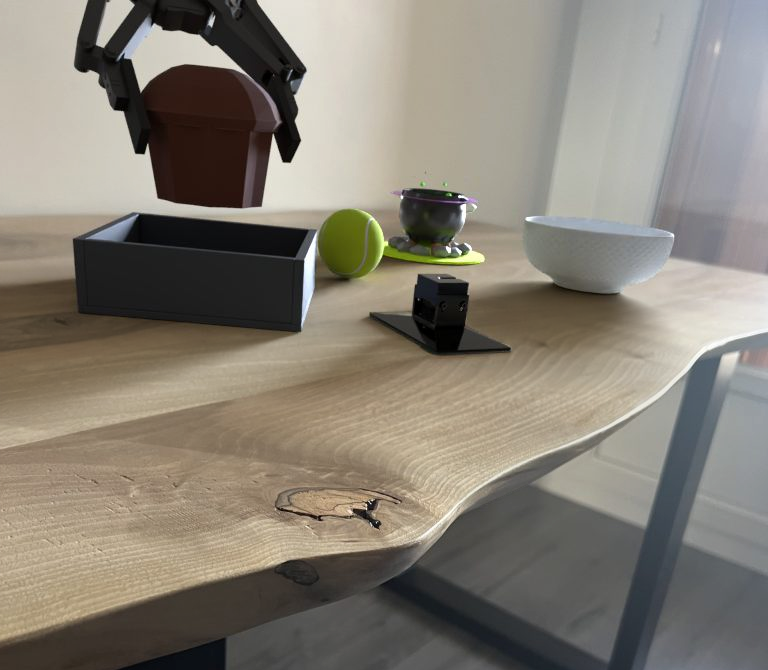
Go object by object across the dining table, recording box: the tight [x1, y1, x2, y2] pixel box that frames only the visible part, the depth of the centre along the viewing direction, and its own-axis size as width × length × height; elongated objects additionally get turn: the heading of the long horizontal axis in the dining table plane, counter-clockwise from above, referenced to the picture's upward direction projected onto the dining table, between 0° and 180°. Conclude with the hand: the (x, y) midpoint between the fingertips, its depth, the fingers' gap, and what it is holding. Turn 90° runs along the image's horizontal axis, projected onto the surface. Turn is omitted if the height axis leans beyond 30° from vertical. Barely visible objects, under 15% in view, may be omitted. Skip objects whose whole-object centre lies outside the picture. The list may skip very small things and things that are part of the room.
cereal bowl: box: [521, 215, 675, 294], centre depth 95 cm, size 17×17×7 cm
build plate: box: [368, 273, 512, 356], centre depth 68 cm, size 12×7×5 cm, turn 27°
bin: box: [72, 211, 319, 333], centre depth 71 cm, size 18×18×6 cm
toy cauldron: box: [382, 163, 485, 265], centre depth 105 cm, size 15×15×11 cm
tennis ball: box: [317, 208, 385, 279], centre depth 86 cm, size 7×7×7 cm
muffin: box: [141, 63, 283, 210], centre depth 67 cm, size 12×11×10 cm
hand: (221, 147), depth 65 cm, fingers closed on muffin, 12 cm apart
